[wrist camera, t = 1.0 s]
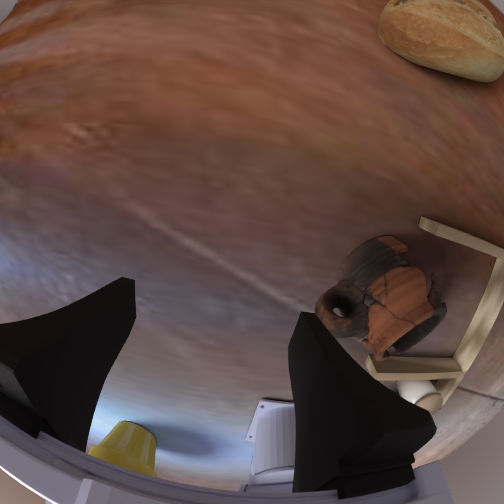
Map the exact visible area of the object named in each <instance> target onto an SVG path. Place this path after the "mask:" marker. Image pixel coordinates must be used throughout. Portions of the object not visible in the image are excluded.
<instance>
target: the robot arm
mask: <svg viewBox="0 0 504 504" xmlns="http://www.w3.org/2000/svg"><path fill="white" fill-rule="evenodd" d="M135 319H136V303H135V280H133V279H129V278H124V277H121V278H119V279H117V280H115V281H113V282H111V283H110V284H108V285H106V286H104V287H102V288H101V289H99V290H97V291H95V292H93V293H92V294H90V295H88V296H86V297H84V298H82V299H80V300H78V301H76V302H74V303H72V304H70V305H68V306H65V307H63V308H61V309H58V310H55V311H53V312H50V313H47V314H44V315H41V316H37V317H34V318H30V319H26V320H22V321H17V322H11V323H3V324H0V468H1V469H2V470H4V471H5V472H6V473H8V474H9V475H10V476H11V477H13V478H14V479H16V480H17V481H19V482H20V483H21V484H23V485H24V486H26V487H27V488H29V489H30V490H32V491H33V492H35V493H36V494H38V495H40V496H41V497H43V498H45V499H46V503H45V504H454V503H453V499H452V496H451V493H450V489H449V486H448V483H447V480H446V477H445V474H444V471H443V468H442V465H441V462H440V460H437V461H434V462H431V463H428V464H425V465H422V466H419V467H417V468H415V469H412V465H411V464H412V463H414V462H415V458H414V455H413V454H414V453H415V452H417V451H418V450H419V449H420V448H421V447H423V446H424V445H425V444H426V443H427V442H428V441H429V440H431V439H432V437H433V436H434V435H435V433H436V429H437V428H436V425H435V423H434V421H433V418H432V416H431V414H430V412H429V411H428V410H426V409H424V408H422V407H420V406H417V405H415V404H413V403H411V402H409V401H407V400H406V399H404V398H402V397H401V396H399V395H397V394H396V393H394V392H393V391H391V390H390V389H388V388H387V387H385V386H384V385H383V384H381V383H380V382H379V381H377V380H376V379H375V378H373V377H372V376H371V375H370V374H369V373H368V372H366V371H365V370H364V369H363V368H362V367H361V366H360V365H359V364H358V363H357V362H356V361H355V360H354V359H353V358H352V357H351V356H350V355H349V354H348V353H347V352H346V351H345V350H344V348H343V347H342V346H341V345H340V344H339V343H338V341H337V340H336V339H335V338H334V337H333V335H332V334H331V333H330V332H329V330H328V329H327V328H326V326H325V325H324V324H323V323H322V321H321V320H320V319H319V318H318V316H317V315H316V314H315V313H309V312H302V311H301V314H300V317H299V319H298V322H297V325H296V327H295V330H294V333H293V335H292V338H291V340H290V343H289V346H288V363H289V373H290V380H291V387H292V393H293V400H294V403H292V402H283V401H274V400H266V399H262V400H260V401H259V403H258V406H257V409H256V412H255V415H254V417H253V420H252V423H251V426H250V428H249V431H248V434H247V436H246V441H247V442H252V443H253V450H252V467H251V475H250V476H248V483H247V484H242V485H241V486H240V487H239V488H238V489H237V490H236V491H229V490H220V489H212V488H205V487H199V486H193V485H188V484H183V483H178V482H173V481H169V480H164V479H160V478H156V477H153V476H149V475H145V474H142V473H138V472H135V471H132V470H129V469H126V468H123V467H120V466H117V465H114V464H111V463H109V462H106V461H104V460H101V459H98V458H96V457H94V456H91V455H89V454H86V453H85V452H86V446H87V440H88V435H89V431H90V427H91V423H92V419H93V415H94V411H95V408H96V405H97V402H98V399H99V396H100V393H101V390H102V387H103V385H104V382H105V379H106V377H107V375H108V373H109V371H110V369H111V367H112V365H113V364H114V362H115V360H116V358H117V356H118V354H119V353H120V351H121V349H122V347H123V345H124V344H125V342H126V340H127V338H128V336H129V334H130V332H131V329H132V327H133V324H134V322H135ZM262 405H264V406H262ZM91 476H92V477H94V478H92V477H91Z"/></svg>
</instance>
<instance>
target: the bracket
mask: <svg viewBox="0 0 504 504" xmlns="http://www.w3.org/2000/svg"><path fill="white" fill-rule="evenodd" d="M419 227H420V228H422V229H424V230H426V231H428V232H430V233H432V234H434V235H436V236H439V237H442V238H445V239H448V240H451V241H454V242H457V243H460V244H462V245H465V246H468V247H471V248H474V249H476V250H479V251H482V252H484V253H487V254H489V255H492V256H495V257H497V259H496V262H495V265H494V268H493V271H492V274H491V277H490V279H489V282H488V285H487V287H486V290H485V292H484V295H483V297H482V299H481V302H480V304H479V306H478V308H477V311H476V313H475V315H474V317H473V319H472V321H471V323H470V325H469V327H468V329H467V331H466V333H465V335H464V337H463V339H462V341H461V343H460V345H459V346H458V348H457V350H456V352H455V353H454V355H453V357H452V358H423V357H395V356H390V357H389V358H387V359H385V360H382V361H376V360H375V359H374V355H368V357H367V359H366V361H365V363H366V365H367V368H368V370H369V372H370V375H371V376H372V377H373V378H375V379H376V380H432V379H438V381H437V383H436V384H435V385H434V388H435V390H436V391H437V393H440V394H441V396H442V398H443V403H442V405H441V407H442V406H443V405H444V404H445V402H446V401H447V400H448V398H449V397H450V396H451V394H452V393H453V391H454V390H455V389H456V387H457V386H458V384H459V383H460V381H461V380H462V378H463V377H464V375H465V374H466V372H467V371H468V369H469V367H470V366H471V364H472V363H473V361H474V359H475V358H476V356H477V354H478V352H479V351H480V349H481V347H482V345H483V343H484V342H485V340H486V338H487V336H488V334H489V332H490V330H491V328H492V326H493V324H494V322H495V320H496V318H497V316H498V314H499V311H500V309H501V307H502V305H503V302H504V249H503V248H501V247H498V246H496V245H494V244H492V243H489V242H487V241H485V240H482V239H480V238H477V237H475V236H472V235H470V234H468V233H465V232H462V231H460V230H457V229H455V228H452V227H449V226H447V225H444V224H441V223H439V222H436V221H433V220H430V219H427V218H425V217H422V216H421V219H420V223H419ZM397 395H399V396H400V394H399V393H397ZM441 407H440V408H439V409H438V410H440V409H441Z"/></svg>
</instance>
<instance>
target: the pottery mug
mask: <svg viewBox="0 0 504 504" xmlns="http://www.w3.org/2000/svg"><path fill="white" fill-rule="evenodd" d="M407 251H408V247H407V246H406V245H405V244H404V243H402V242H400V241H399V240H397V239H396V238H395V237H393V236H382V237H378V238H376V239H372V240H370V241H368V242H366V243H364V244H362V245H361V246H360V247H358V248H356V249H355V250H354V251H353V252H352V253H351V254H350V255H349V256H348V257H347V259H346V260H345V261H344V263H343V264H342V268H343V271H344V275H345V280H342V281H339V282H338V284H337V285H336V286H334V287H332V288H331V289H329V290H328V291H326V292H325V293H324V294H323V295H321V297H320V298H319V299H318V301H317V303H316V306H315V314H316V315H317V316H318V318H319V319H320V320H321V321H322V323H323V324H324V325H325V326H326V328H327V329H328V330H329V332H330V333H331V334H332V335H333V337H334V338H347V337H356V338H358V339H360V338H363V337H365V336H366V337H367V339H363V340H362V345H363V346H364V348H366V349H368V350H371V351H372V353H373V355H374V359H375V360H376V361H382V360H385V359H387V358H389V357H390V355H389V353H388V351H387V349H388V348H390V347H391V346H393V347H394V348H395V350H396V352H397V354H401V353H403V352H405V351H406V350H408V349H410V348H411V347H412V346H414V345H416V344H417V343H418V342H420V341H421V340H422V339H424V338H425V337H426V336H427V335H428V334H429V333H430V332H432V331H433V330H434V329H435V327H436V326H437V325H438V324H439V323H440V322H441V321H442V320H443V318H444V317H445V315H446V312H447V307H446V303H445V302H444V303H441V287H440V283H439V278H438V277H437V276H436V275H435V274H434V273H432V274H431V280H432V284H431V290H430V292H429V294H428V290H427V283H426V278H425V274H424V273H422V271H421V270H420V269H419V268H417V267H409V263H407V262H406V260H404V259H403V258H401V257H400V255H398V253H406V252H407ZM365 294H368V295H370V296H371V297H372V298H373V299H374V300H375V301H374V302H373V303H372V304H370V306H369V307H367V306H366V305H365V304H364V298H365ZM427 294H428V296H427ZM334 308H338V309H339V311H340V313H341V315H342V316H343V317H340V316H338V315H336V314H335V313H334V312H333V309H334Z"/></svg>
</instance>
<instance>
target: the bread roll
mask: <svg viewBox="0 0 504 504" xmlns="http://www.w3.org/2000/svg"><path fill="white" fill-rule="evenodd" d="M499 28H500V27H499V26H498V24H497V23H496V21H495V19H494V18H493V16H492V14H491V13H490V12H489V11H488V10H487V8H486V7H484V6H483V5H482V4H481V3H480V2H478V1H477V0H390V1H389V2H388V3H387V4H386V6H385V8H384V9H383V11H382V13H381V14H380V16H379V19H378V35H379V37H380V39H381V40H382V42H383V44H384V45H386V46H387V47H388V48H390V49H391V50H392V51H393V52H395V53H397V54H398V55H400V56H402V57H403V58H405V59H407V60H409V61H411V62H413V63H416V64H418V65H421V66H424V67H428V68H431V69H434V70H438V71H441V72H445V73H448V74H452V75H456V76H459V77H463V78H467V79H470V80H474V81H479V82H492V81H494V80H497V79H498V78H499V77H500V76H501V75H502V73H503V72H504V38H503V36H502V34H501V32H500V31H499Z"/></svg>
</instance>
